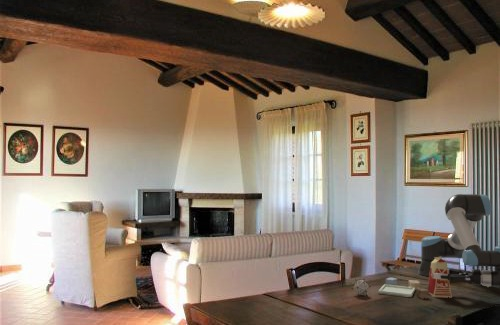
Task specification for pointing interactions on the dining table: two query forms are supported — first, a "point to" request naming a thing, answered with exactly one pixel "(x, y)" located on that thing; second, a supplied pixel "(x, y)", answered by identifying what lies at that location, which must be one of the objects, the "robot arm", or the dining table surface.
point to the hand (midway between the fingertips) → (434, 273)
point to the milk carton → (439, 285)
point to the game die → (361, 287)
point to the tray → (397, 290)
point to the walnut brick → (422, 293)
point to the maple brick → (414, 284)
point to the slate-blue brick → (391, 281)
